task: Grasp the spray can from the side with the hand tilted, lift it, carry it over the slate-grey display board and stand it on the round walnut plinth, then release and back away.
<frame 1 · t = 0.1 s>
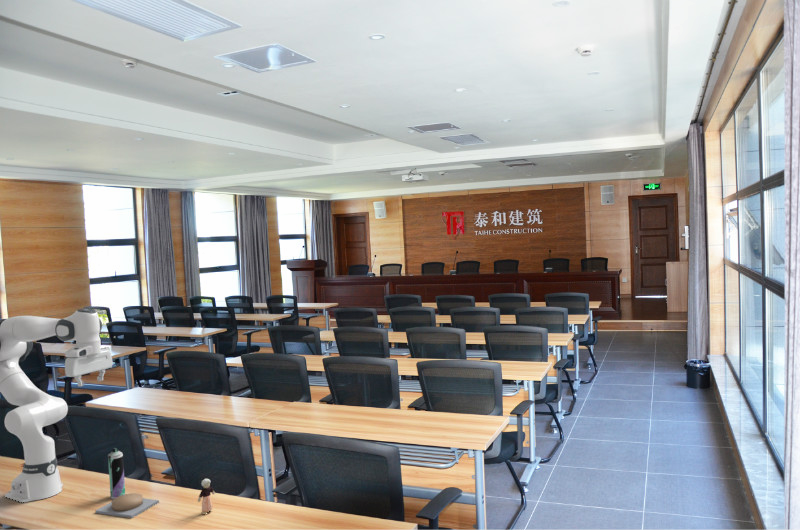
hand: (90, 383, 241), 48 cm above the table, tool pointing down, fingers open, 8 cm apart
display stand: (127, 507, 235), on the table
grandmother figurine: (207, 512, 228), on the table
spray can: (118, 496, 247), on the table
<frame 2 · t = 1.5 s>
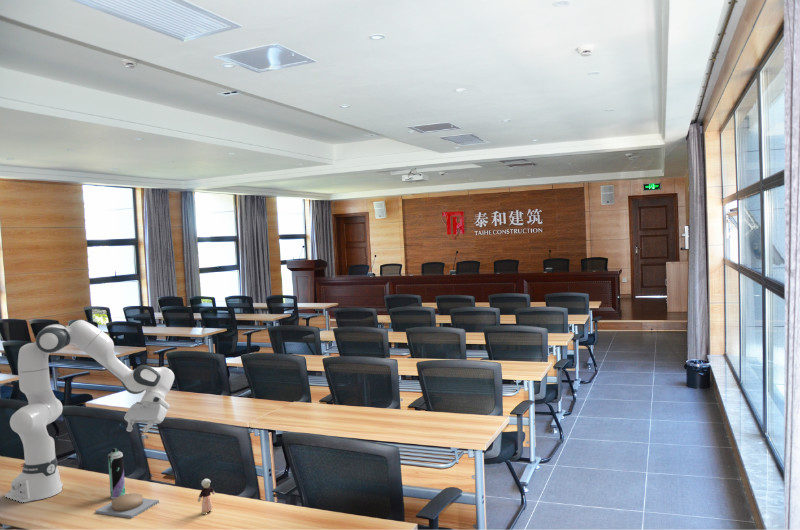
hand: (136, 431, 256), 24 cm above the table, tool tilted 45°, fingers open, 8 cm apart
nothing on the table moved.
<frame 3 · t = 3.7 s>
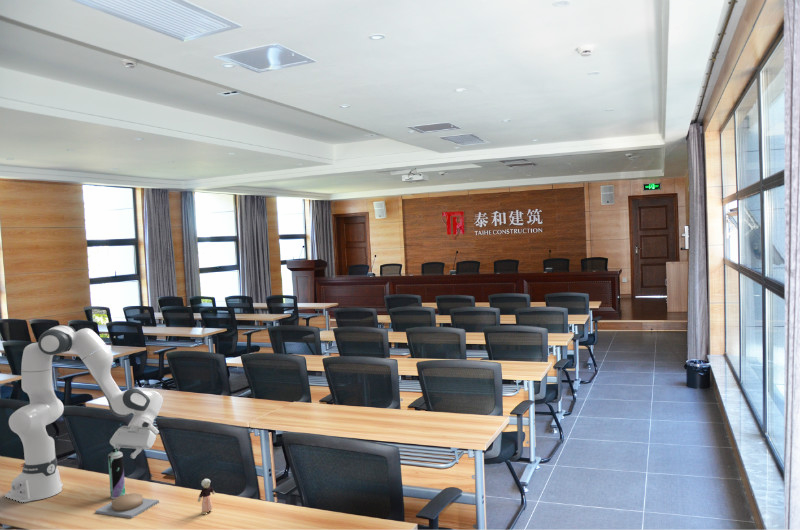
hand: (123, 457, 250), 15 cm above the table, tool tilted 45°, fingers open, 8 cm apart
nothing on the table moved.
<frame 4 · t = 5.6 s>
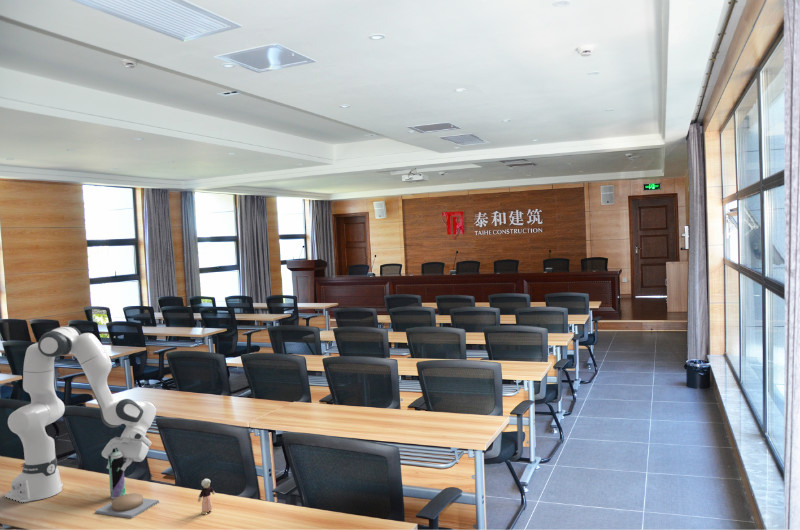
hand: (115, 469, 246), 11 cm above the table, tool tilted 45°, fingers closed on spray can, 5 cm apart
spray can: (118, 496, 247), on the table, touching gripper
everything else where it was.
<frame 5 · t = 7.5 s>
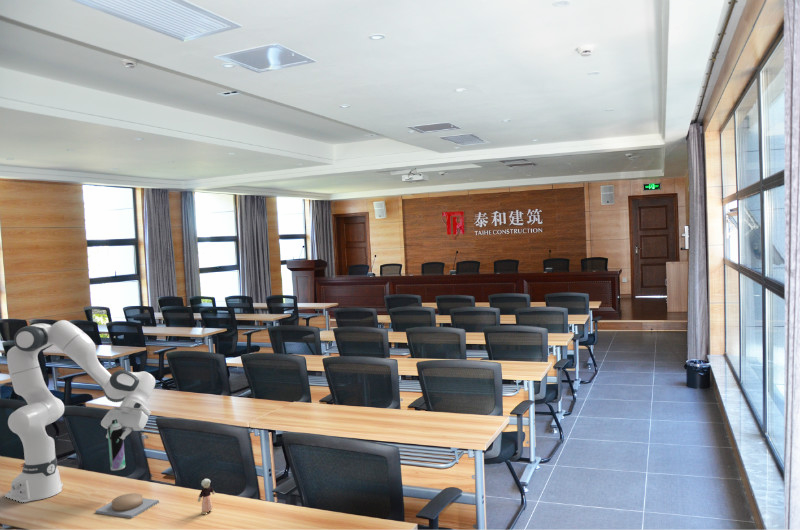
hand: (114, 438, 244), 24 cm above the table, tool tilted 45°, fingers closed on spray can, 5 cm apart
spray can: (118, 468, 245), point 12 cm above the table, touching gripper
everything else where it was.
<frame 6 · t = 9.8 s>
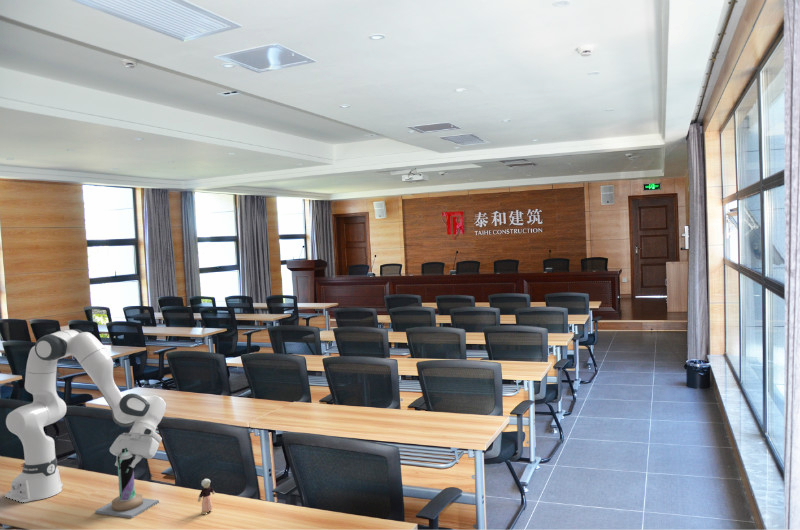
hand: (124, 466, 234), 17 cm above the table, tool tilted 45°, fingers closed on spray can, 5 cm apart
spray can: (127, 499, 235), point 3 cm above the table, touching display stand, gripper
everything else where it was.
when the fingers open (16 cm above the table, at t = 10.4 s): spray can stays where it is, resting on display stand.
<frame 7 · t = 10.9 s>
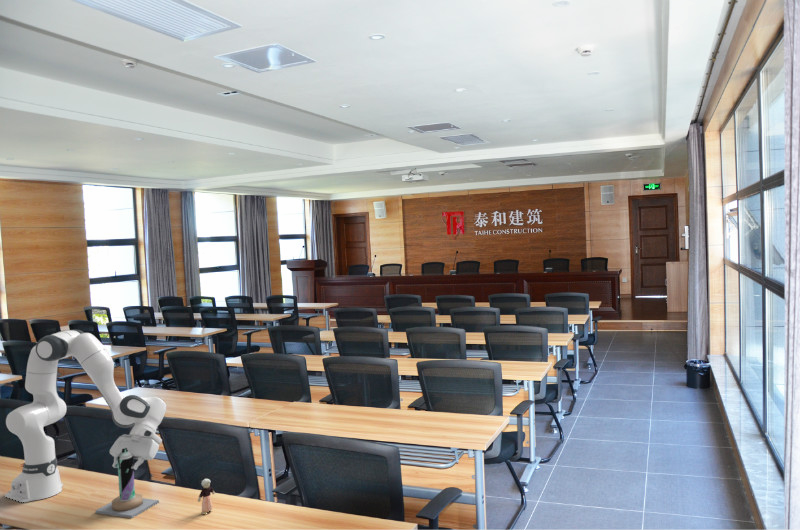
hand: (124, 468, 234), 16 cm above the table, tool tilted 45°, fingers open, 8 cm apart
spray can: (127, 499, 235), point 3 cm above the table, touching display stand
everything else where it was.
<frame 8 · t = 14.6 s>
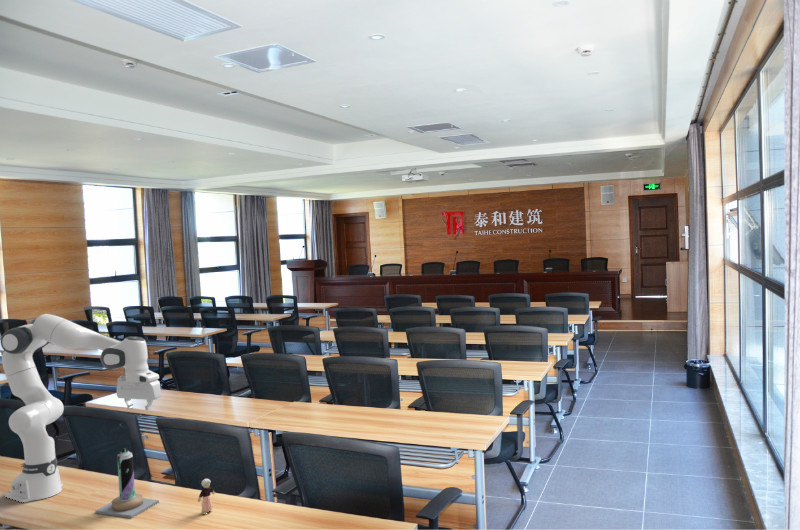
hand: (139, 409, 247), 35 cm above the table, tool pointing down, fingers open, 8 cm apart
nothing on the table moved.
at the end: spray can inside the target area on the display stand (0.1 cm from its centre), point 3.3 cm above the display stand's base; spray can tilted 0°; the gripper is holding nothing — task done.
